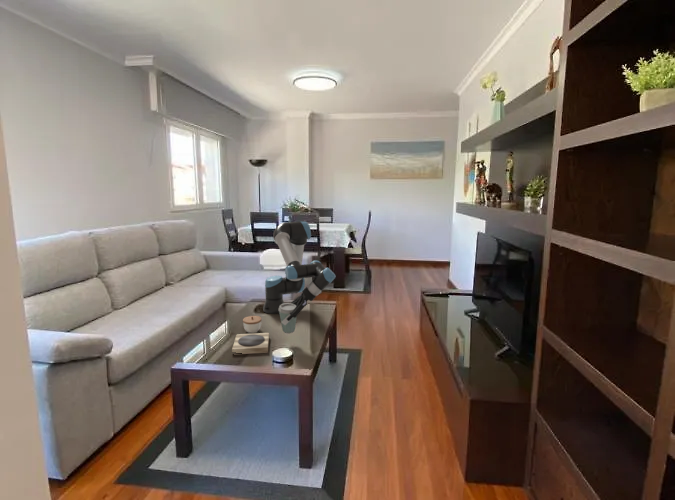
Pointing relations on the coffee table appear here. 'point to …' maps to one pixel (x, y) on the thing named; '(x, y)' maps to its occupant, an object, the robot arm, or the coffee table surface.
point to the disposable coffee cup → (284, 312)
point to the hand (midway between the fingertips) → (283, 319)
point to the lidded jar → (252, 323)
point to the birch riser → (251, 343)
